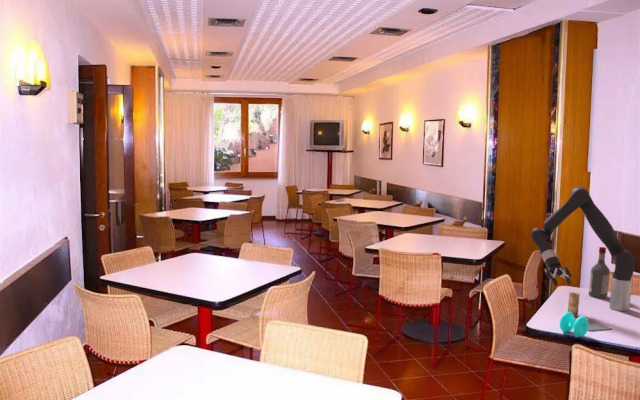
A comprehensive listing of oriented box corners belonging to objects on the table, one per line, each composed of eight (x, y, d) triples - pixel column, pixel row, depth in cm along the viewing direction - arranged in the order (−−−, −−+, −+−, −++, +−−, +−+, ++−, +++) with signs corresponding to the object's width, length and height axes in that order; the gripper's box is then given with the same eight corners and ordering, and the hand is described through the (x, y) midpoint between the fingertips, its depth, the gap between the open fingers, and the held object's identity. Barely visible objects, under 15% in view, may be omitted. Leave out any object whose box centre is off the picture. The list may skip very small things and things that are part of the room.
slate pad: (591, 320, 285) (591, 319, 285) (612, 329, 272) (612, 328, 272) (568, 321, 281) (568, 320, 281) (589, 331, 268) (589, 330, 268)
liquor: (608, 296, 331) (613, 247, 328) (603, 299, 325) (609, 249, 321) (591, 293, 337) (596, 245, 334) (587, 296, 330) (592, 247, 327)
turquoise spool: (577, 339, 256) (579, 319, 255) (557, 333, 264) (559, 313, 263) (588, 335, 262) (590, 315, 261) (568, 329, 270) (570, 309, 269)
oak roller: (573, 313, 295) (575, 292, 293) (579, 317, 290) (581, 295, 288) (565, 314, 293) (567, 292, 292) (571, 317, 288) (574, 295, 287)
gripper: (543, 256, 303) (555, 281, 294) (565, 255, 307) (578, 280, 297) (536, 263, 309) (548, 288, 299) (558, 262, 313) (570, 287, 303)
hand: (563, 284), depth 298 cm, fingers open, 8 cm apart
